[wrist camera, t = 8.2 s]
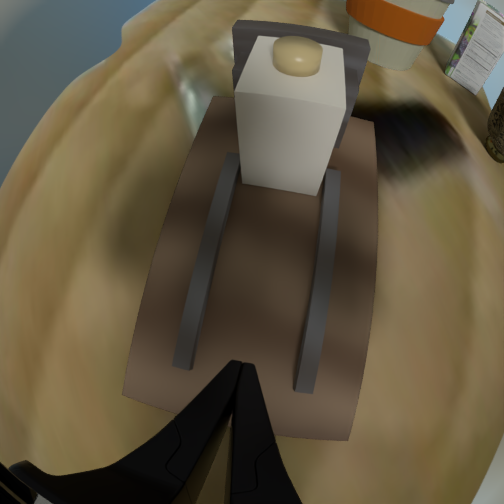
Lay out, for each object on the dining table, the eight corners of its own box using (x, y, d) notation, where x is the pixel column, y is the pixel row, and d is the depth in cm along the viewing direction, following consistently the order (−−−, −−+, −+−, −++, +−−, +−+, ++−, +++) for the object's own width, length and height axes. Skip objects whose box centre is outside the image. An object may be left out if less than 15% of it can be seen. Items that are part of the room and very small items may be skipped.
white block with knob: (316, 196, 18) (352, 89, 10) (242, 183, 19) (232, 71, 10) (321, 132, 20) (346, 32, 12) (258, 121, 21) (258, 19, 12)
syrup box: (446, 62, 28) (476, -5, 14) (477, 83, 27) (512, 20, 13) (443, 73, 26) (478, -1, 13) (477, 97, 25) (518, 28, 11)
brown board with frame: (343, 436, 14) (408, 495, 6) (128, 392, 15) (38, 415, 7) (370, 129, 22) (403, 50, 13) (214, 104, 23) (201, 19, 14)
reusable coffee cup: (393, 35, 29) (415, -39, 15) (439, 84, 25) (480, -1, 11) (319, 27, 29) (331, -62, 14) (360, 75, 25) (392, -40, 10)
